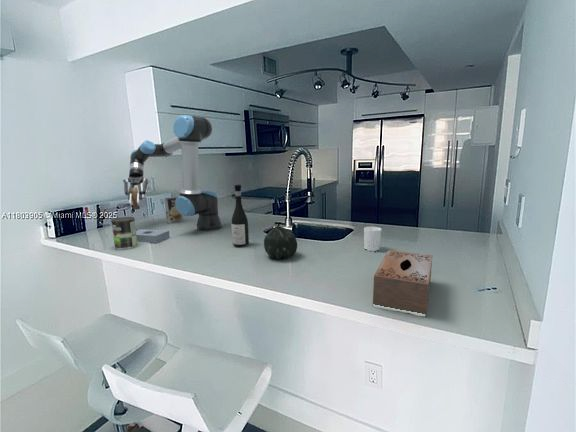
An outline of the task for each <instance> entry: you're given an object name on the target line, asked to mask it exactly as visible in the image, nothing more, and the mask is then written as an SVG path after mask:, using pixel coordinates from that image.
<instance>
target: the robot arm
mask: <svg viewBox="0 0 576 432" xmlns="http://www.w3.org/2000/svg"><path fill="white" fill-rule="evenodd" d="M212 126H213V125H212V123H211V121H210V120H209V119H207V118H205V117H201V116H195V115H188V114H186V115H185V114H183V115H179V116H177V117H176V119H175V120H174V122H173V125H172V129H173V133H174V134H175V136H174V137H171V138H170V139H168V140H167V141H165V142H162V143H158V144H157V143H154V142H153V141H150V140H144V141H143V142H142V143H141V144H140V145H139V147H138V148H137V149H135V150H132V151H131V154H130V157H129V158H130V160H129V163H130V164H129V171H128V173H129V174H128V178H127V179H123V180H122V181H123V184H124V185H123V186H124V187H123V188H124V194H125V196H127V200H128V201H129V202H128V203H129V206H132V207H133V202H132V194H131V188H135V186H137V190H138V193H137V204H138V205H139V206H140V201H141V200H142V199H143V195H146V193H147V186H148V184H149V180H148V179H149V178H144V171H145V167H144V165H145V162H146V161H147V160H148V159H149V158H151V157H153V158H155V157H156V158H157V157H160V158H161V157H170V156H172V155H174V153H175V152H177V151H179V150H181V174H182V175H181V178H182V180H181V181H182V183H181V185H182V188H181V190H179V196H178V198H177V199H176V201H175V205H176V209H177V210H178V212H179V213H180V214H181V215H183V217H192V216H196V215H198V218H197V222H196V230H197V231H198V230H199V231H203V232H204V231H207V232H209V231H215V230H219V229H221V228H223V223H222V220H221V218H220V216H219V205H218V204H219V201H218V193H217V191H215V190H202V189H201V190H200V189H199V187H200V186H199V182H200V181H199V179H200V178H199V145H200V144H201V143H202V141H204V140H207V139H208V138H209V137H210V136H211V135H212V134H213V127H212ZM129 183H130V185H128V184H129ZM142 183H143V187H142Z"/></svg>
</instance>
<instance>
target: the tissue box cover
mask: <svg viewBox="0 0 576 432" xmlns="http://www.w3.org/2000/svg"><path fill="white" fill-rule="evenodd" d="M432 266H433V255H430V254H422V253H415V252H409V251H408V252H407V251H398V250H391V249H389V250H387V252H386V254H385V256H384V258H383V260H382V261H381V262H380V264H379V266H378V268H377V270H376V272H375V273H374V276H373V289H372V292H373V293H372V305H373V304H375V305H380V306H384V307H390V308H395V309H400V310H406V311H411V312H417V313H422V314H426V315H427V313H426V312H427V311H428V305H429V304H428V303H429V297H430V288H429V287H431V278H432V277H431V276H432ZM428 296H429V297H428ZM427 304H428V305H427Z"/></svg>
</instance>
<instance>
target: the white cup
mask: <svg viewBox="0 0 576 432" xmlns="http://www.w3.org/2000/svg"><path fill="white" fill-rule="evenodd" d="M381 239H382V228H381V227H377V226H365V227H364V228H363V245H364V246H363V247H364V248H365V249H368V250H378V249H379V250H380V247H381V246H380V245H381V241H382V240H381ZM365 249H364V250H365Z"/></svg>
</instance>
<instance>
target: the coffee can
mask: <svg viewBox="0 0 576 432" xmlns="http://www.w3.org/2000/svg"><path fill="white" fill-rule="evenodd" d="M110 222H111V227H112V228H111V229H112V234H113V235H112V237H113V242H114V243H113V244H114V249H115V250H121V251H122V250H130V249H134V248H136V247H137V246H138V242H137V238H136V230H137V229H136V221H135V217H133V216H123V217H115V218H113V219H111V220H110Z"/></svg>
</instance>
